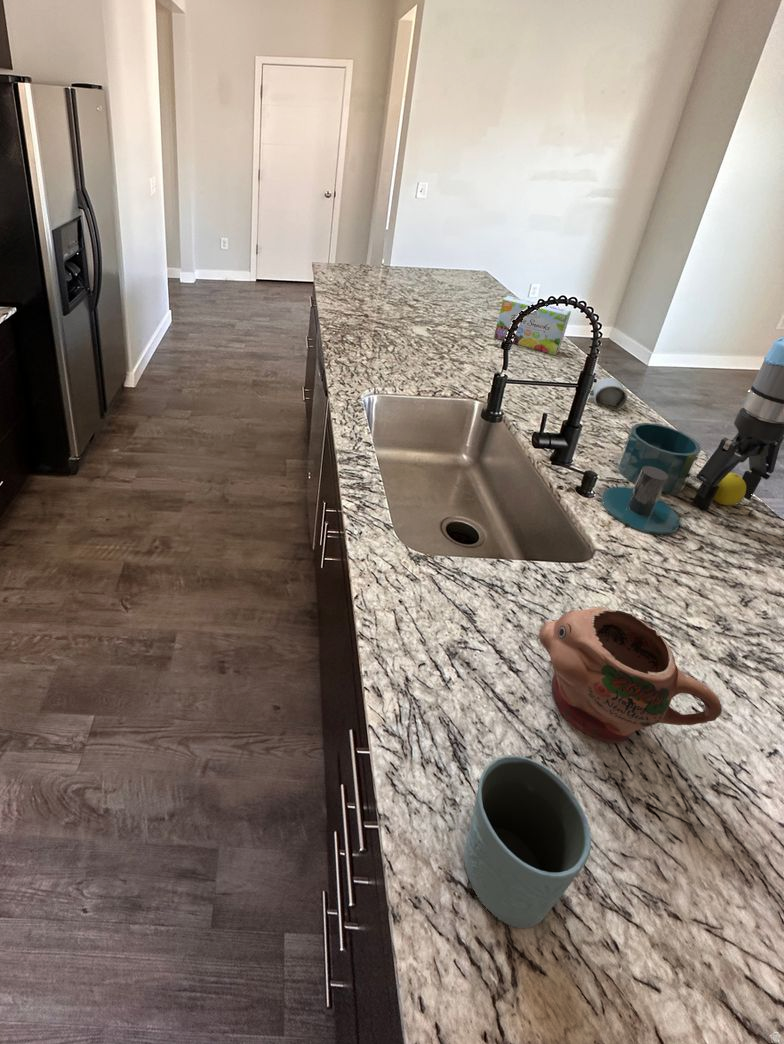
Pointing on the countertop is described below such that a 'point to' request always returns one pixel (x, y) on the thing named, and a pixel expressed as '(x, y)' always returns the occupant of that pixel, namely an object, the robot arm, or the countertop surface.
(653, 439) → the pot
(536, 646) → the countertop surface
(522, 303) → the snack box
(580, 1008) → the countertop surface
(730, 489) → the lemon
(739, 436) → the robot arm
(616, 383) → the ceramic mug
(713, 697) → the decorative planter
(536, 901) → the teal cup
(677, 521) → the lid
